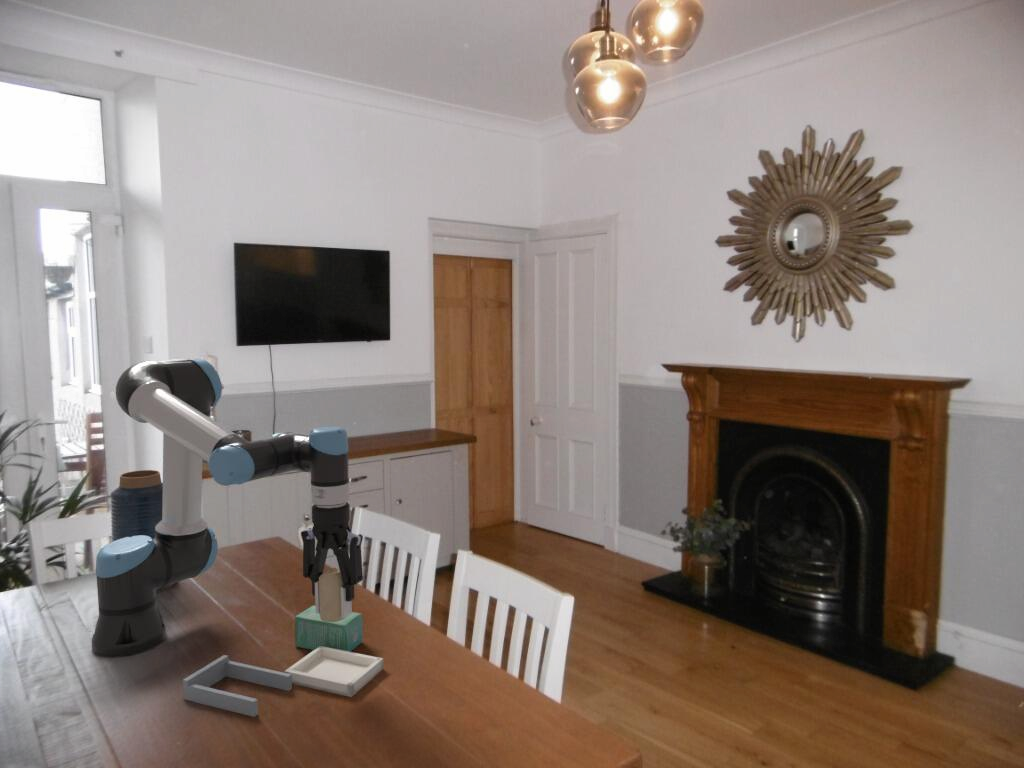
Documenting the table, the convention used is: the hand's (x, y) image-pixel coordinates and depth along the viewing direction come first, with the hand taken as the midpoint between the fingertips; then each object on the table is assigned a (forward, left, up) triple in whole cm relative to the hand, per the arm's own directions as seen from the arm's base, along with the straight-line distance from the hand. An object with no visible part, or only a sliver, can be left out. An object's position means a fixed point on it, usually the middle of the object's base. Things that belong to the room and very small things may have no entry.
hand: (333, 612), depth 149 cm
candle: (0, 0, -1) cm, 1 cm away
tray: (0, 0, -14) cm, 14 cm away
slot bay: (-13, -13, -14) cm, 23 cm away
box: (-9, +11, -14) cm, 20 cm away
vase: (-78, +23, -14) cm, 83 cm away
